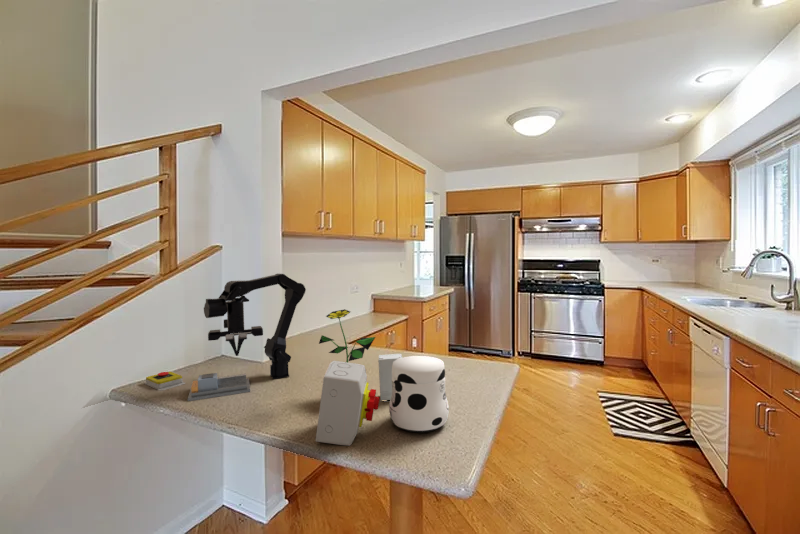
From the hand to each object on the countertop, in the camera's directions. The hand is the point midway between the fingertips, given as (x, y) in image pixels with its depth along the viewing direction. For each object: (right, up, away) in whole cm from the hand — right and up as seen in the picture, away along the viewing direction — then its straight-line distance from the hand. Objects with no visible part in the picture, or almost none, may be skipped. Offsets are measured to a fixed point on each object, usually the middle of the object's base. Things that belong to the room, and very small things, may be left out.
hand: (236, 355), depth 144 cm
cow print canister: (+67, -13, -32) cm, 76 cm away
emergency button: (-31, -13, +6) cm, 34 cm away
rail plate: (-5, -12, -3) cm, 13 cm away
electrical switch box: (+48, -13, -38) cm, 62 cm away
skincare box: (+59, -12, -13) cm, 61 cm away
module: (-8, -11, -5) cm, 15 cm away
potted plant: (+44, -12, -14) cm, 48 cm away
